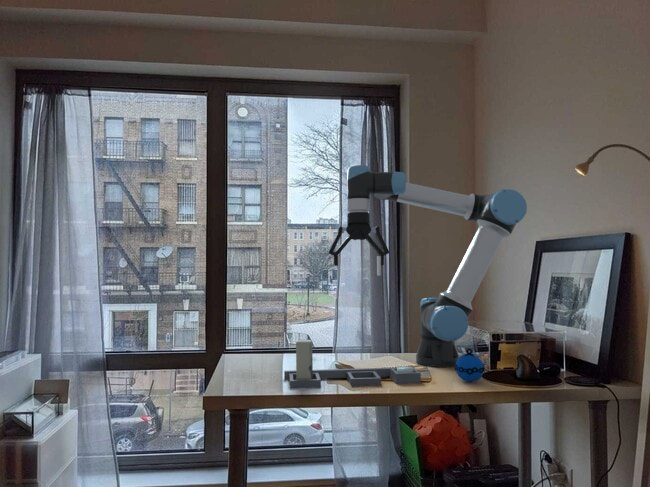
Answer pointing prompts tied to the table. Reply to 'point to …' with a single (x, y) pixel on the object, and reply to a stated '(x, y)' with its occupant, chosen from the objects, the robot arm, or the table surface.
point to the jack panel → (340, 376)
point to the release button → (404, 369)
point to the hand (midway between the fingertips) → (358, 275)
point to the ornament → (469, 367)
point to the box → (304, 360)
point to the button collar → (405, 376)
